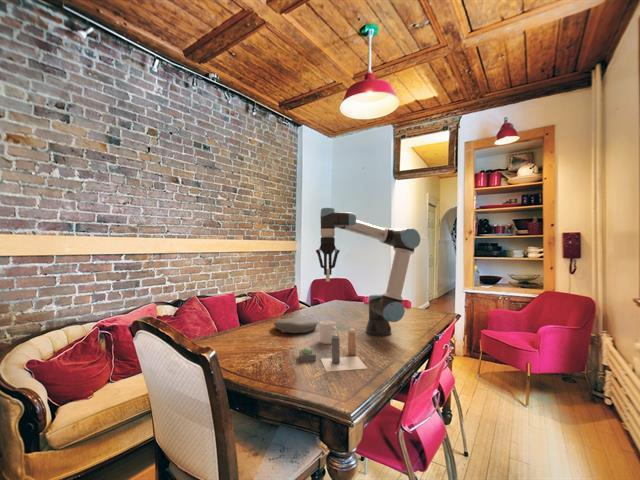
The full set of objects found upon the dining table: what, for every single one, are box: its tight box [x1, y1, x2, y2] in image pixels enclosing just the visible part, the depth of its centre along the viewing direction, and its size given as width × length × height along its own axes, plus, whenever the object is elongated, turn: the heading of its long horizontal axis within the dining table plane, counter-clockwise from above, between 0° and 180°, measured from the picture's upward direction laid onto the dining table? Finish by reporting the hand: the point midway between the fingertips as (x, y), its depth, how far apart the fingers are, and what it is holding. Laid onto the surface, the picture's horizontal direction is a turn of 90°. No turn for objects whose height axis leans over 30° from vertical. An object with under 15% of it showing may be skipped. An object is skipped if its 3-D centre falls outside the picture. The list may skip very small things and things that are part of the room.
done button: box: [302, 347, 313, 354], centre depth 143 cm, size 4×4×4 cm
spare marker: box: [347, 328, 357, 357], centre depth 147 cm, size 4×4×12 cm
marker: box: [331, 333, 341, 364], centre depth 137 cm, size 4×4×12 cm
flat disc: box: [273, 317, 319, 335], centre depth 192 cm, size 28×28×4 cm
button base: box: [298, 348, 317, 363], centre depth 143 cm, size 7×7×3 cm
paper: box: [320, 355, 368, 373], centre depth 136 cm, size 18×14×1 cm
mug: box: [319, 320, 340, 345], centre depth 166 cm, size 9×12×11 cm
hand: (327, 281), depth 161 cm, fingers closed
